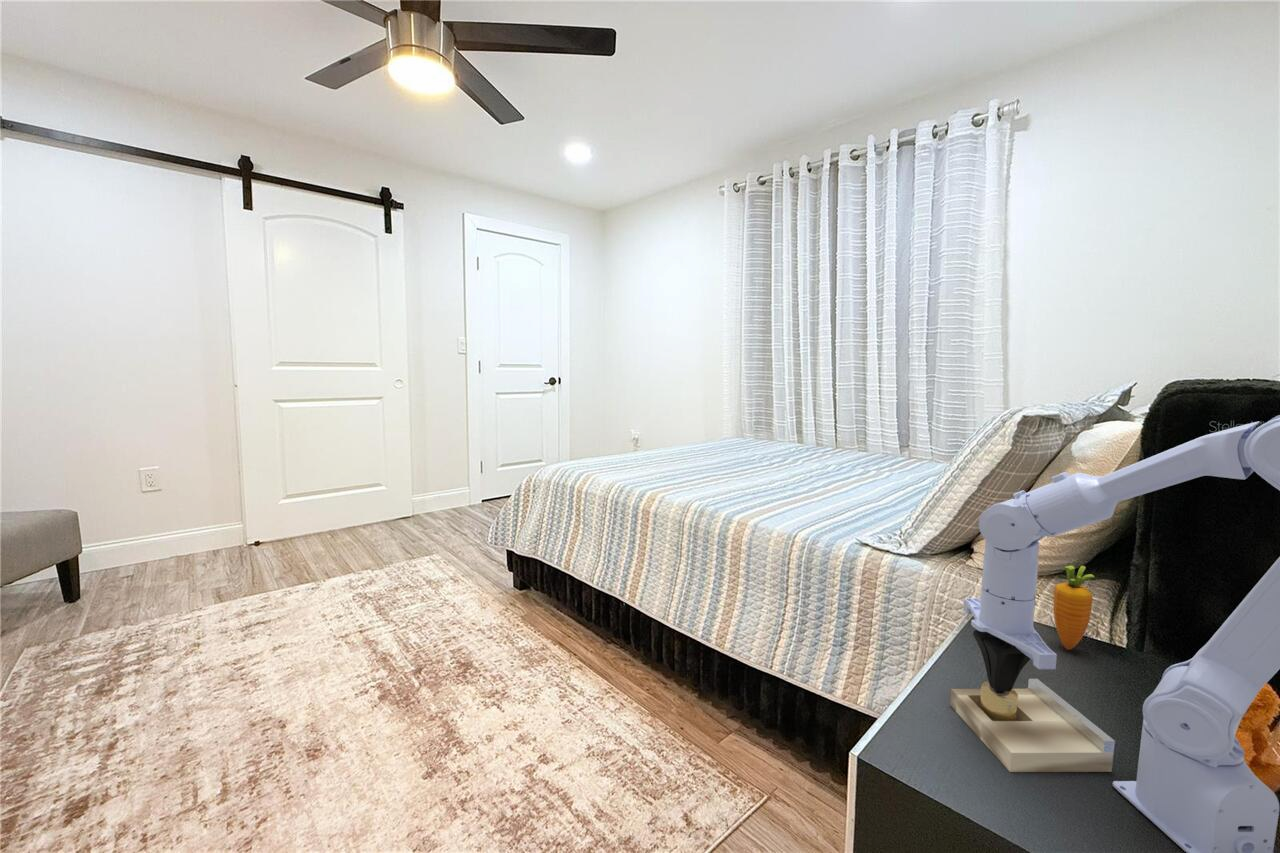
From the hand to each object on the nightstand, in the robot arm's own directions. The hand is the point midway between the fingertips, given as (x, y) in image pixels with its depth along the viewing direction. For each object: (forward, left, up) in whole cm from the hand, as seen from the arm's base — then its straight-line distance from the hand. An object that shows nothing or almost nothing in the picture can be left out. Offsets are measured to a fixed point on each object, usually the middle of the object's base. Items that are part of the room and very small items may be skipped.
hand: (1000, 688), depth 68 cm
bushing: (0, 0, -5) cm, 5 cm away
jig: (-2, -2, -5) cm, 6 cm away
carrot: (+18, -24, -6) cm, 30 cm away
